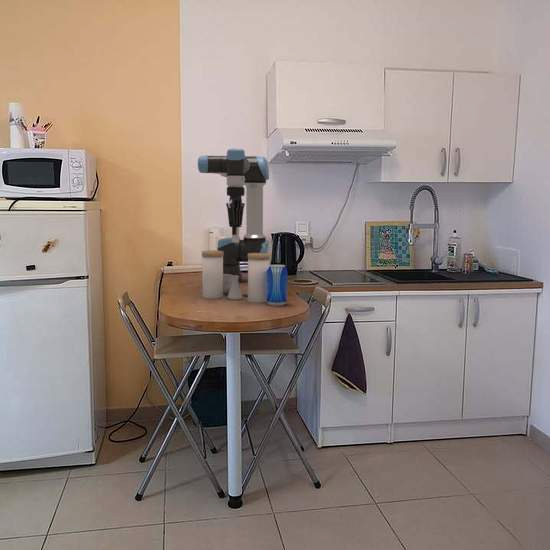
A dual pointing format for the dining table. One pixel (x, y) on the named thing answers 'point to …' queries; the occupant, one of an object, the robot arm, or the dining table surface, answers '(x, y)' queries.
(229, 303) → the dining table surface
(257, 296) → the canister right
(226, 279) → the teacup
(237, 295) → the flask
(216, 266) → the canister left
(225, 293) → the kettle cord
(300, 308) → the dining table surface
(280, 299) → the beer can
